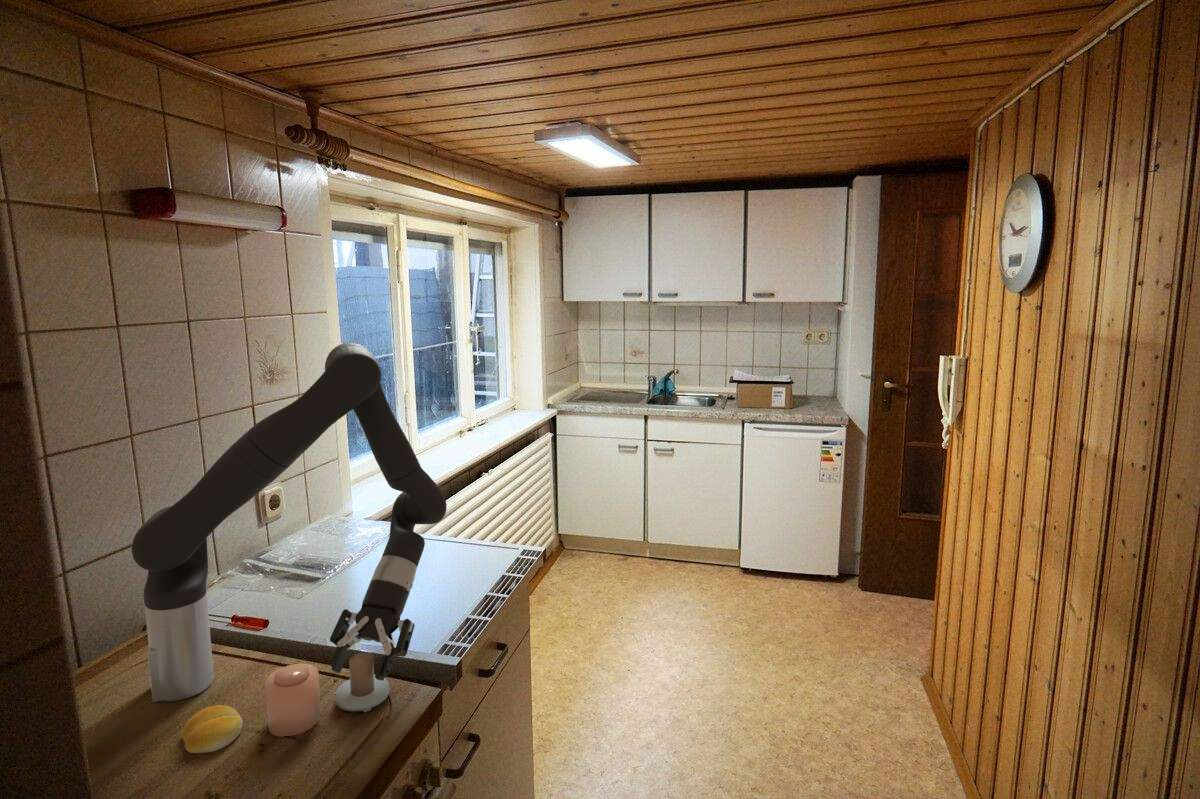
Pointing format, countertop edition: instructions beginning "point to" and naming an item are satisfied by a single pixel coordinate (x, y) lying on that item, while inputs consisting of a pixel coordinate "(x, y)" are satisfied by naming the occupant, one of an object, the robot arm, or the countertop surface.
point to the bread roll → (211, 729)
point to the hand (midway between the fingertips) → (357, 675)
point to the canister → (292, 699)
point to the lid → (361, 686)
